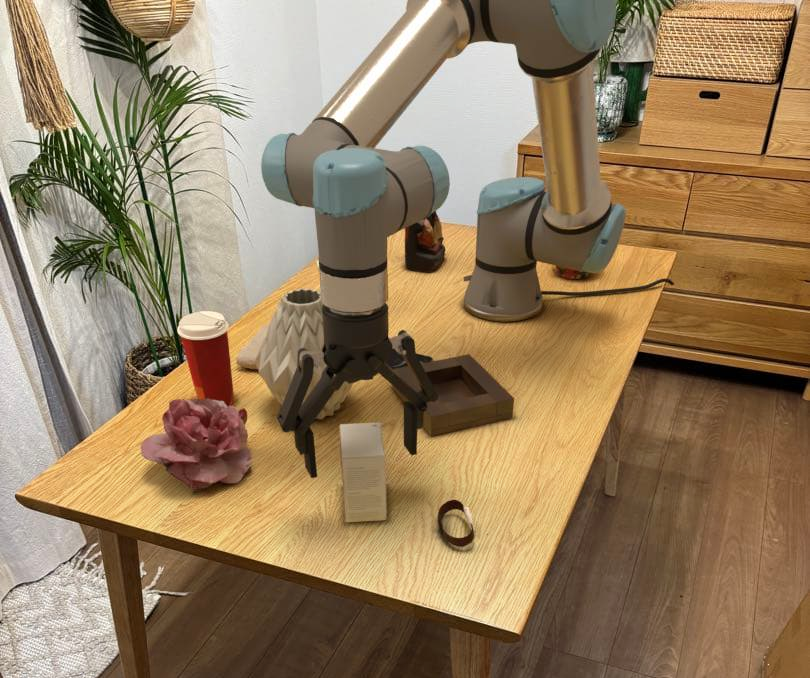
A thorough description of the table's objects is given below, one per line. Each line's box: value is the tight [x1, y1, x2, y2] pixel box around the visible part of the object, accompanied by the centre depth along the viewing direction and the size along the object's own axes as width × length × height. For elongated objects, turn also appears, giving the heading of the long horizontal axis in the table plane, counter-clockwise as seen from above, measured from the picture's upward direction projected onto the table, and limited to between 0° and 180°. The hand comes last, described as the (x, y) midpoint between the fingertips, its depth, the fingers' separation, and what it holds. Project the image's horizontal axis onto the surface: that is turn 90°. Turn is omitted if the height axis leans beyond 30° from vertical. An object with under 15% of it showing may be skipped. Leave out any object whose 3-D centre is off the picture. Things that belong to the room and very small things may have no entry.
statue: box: [404, 210, 446, 273], centre depth 167 cm, size 12×8×20 cm, turn 154°
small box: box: [338, 422, 387, 523], centre depth 104 cm, size 8×6×10 cm
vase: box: [255, 287, 354, 420], centre depth 121 cm, size 16×16×18 cm
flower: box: [140, 397, 252, 490], centre depth 111 cm, size 15×15×10 cm
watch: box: [437, 499, 477, 548], centre depth 101 cm, size 8×5×4 cm, turn 12°
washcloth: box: [236, 322, 270, 370], centre depth 140 cm, size 12×18×3 cm, turn 164°
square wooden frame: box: [391, 353, 515, 437], centre depth 126 cm, size 14×16×4 cm
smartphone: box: [385, 349, 434, 369], centre depth 138 cm, size 8×1×15 cm
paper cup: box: [176, 310, 235, 407], centre depth 124 cm, size 8×8×14 cm
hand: (361, 461), depth 102 cm, fingers open, 13 cm apart
